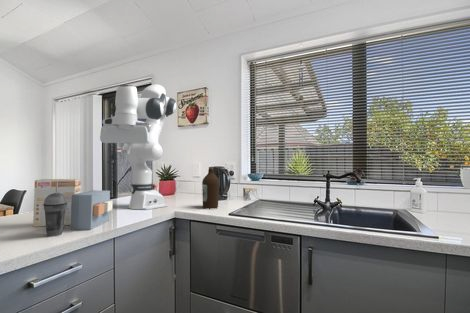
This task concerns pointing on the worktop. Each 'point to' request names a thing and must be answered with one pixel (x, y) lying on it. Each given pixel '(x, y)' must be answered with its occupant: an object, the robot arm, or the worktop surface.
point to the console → (88, 210)
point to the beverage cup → (55, 213)
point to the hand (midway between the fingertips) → (125, 153)
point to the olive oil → (210, 189)
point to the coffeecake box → (49, 187)
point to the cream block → (107, 206)
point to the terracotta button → (98, 209)
